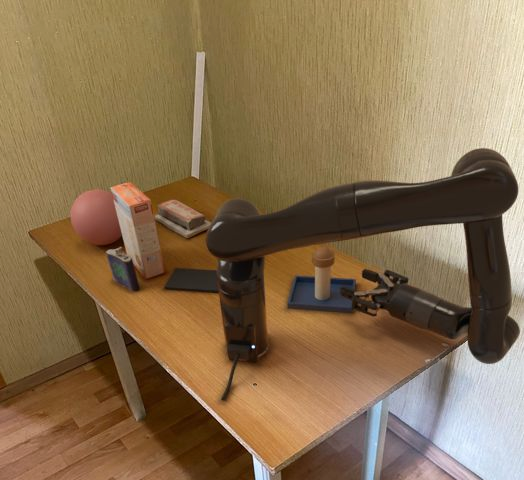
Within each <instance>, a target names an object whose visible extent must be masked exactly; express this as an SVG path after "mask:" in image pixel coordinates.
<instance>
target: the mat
mask: <svg viewBox="0 0 524 480" xmlns="http://www.w3.org/2000/svg"><path fill="white" fill-rule="evenodd" d="M164 290H168V291H183V292H197V293H212V294H219V290H218V283H217V269H216V270H215V269H199V268H184V267H183V268H182V267H175V268H174V270H173V271H172V273H171V275H170V277H169V278H168V280H167V282H166V283H165V285H164Z"/></svg>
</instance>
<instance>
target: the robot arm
mask: <svg viewBox="0 0 524 480" xmlns="http://www.w3.org/2000/svg"><path fill="white" fill-rule="evenodd" d="M513 171H514V170H513V169H512V167H511V165H510V164H509V162H508V160H507V159H506V158H505V157H504V156H503V155H502V154H501V153H500V152H498V151H496V150H494V149H493V148H486V147H479V148H474V149H472V150H469V151H468V152H466V153H465V154H463V155H462V156H460V158H459V159H458V160H457V161H456V163H455V164H454V166H453V168H452V171H451V175H449V176H446V177H442V178H438V179H433V180H427V181H423V182H422V181H421V182H402V181H401V182H400V181H392V180H391V181H390V180H375V179H368V180H367V179H366V180H357V181H353V182H347V183H344V184H338V185H334V186H329V187H326V188H324V189H321V190H319V191H317V192H314V193H312V194H310V195H307V196H306V197H304V198H302V199H301V200H298V201H297V202H295V203H293V204H291V205H289V206H286V207H285V208H282V209H280V210H277V211H274V212H269V213H264V214H261V212H260V211H259V209H258V208H257V206H256V205H254V203H252V202H251V201H249V200H247V199H245V198H241V197H240V198H239V197H238V198H237V197H235V198H230V199H227V200H226V201H223V202H222V203H221V204H220V206H218V208H217V209H216V212H215V213H214V216H213V217H212V219H211V221H210V223H211V224H210V226H209V228H208V229H207V230H206V235H205V236H206V237H205V244H206V248H207V250H208V252H209V253H210V254H211V256H213V257H214V258H216V259H217V267H216V270H217V283H218V290H219V293H218V296H219V305H220V311H221V312H220V313H221V320H222V321H221V322H222V327H223V335H224V342H225V352H226V354H227V358H228V360H229V361H232V362H233V364H232V366H231V369H230V373H229V376H228V377H229V378H228V382H227V384H226V388H225V390H224V392H223V394H222V396H221V398H220V400H221V401H223V402H225V400H226V398H227V396H228V394H229V392H230V389H231V386H232V384H233V379H234V375H235V371H236V368H237V365H238V362H243V363H253V364H254V363H255V364H257V363H258V361H259V360H260V359H261V358H263V357H265V355H267V353H268V351H269V349H270V343H269V334H268V320H267V305H266V289H265V286H266V285H265V265H266V257H267V256H269V255H273V254H277V253H281V252H284V251H288V250H294V249H300V248H306V247H313V246H317V245H324V244H328V243H336V242H345V241H350V240H351V241H352V240H357V239H361V238H366V237H372V236H377V235H382V234H389V233H393V232H399V231H405V230H411V229H417V228H424V227H431V226H442V225H443V226H445V225H457V224H459V225H460V224H463V225H462V226H463V231H464V239H465V249H466V250H465V251H466V265H467V266H466V267H467V280H468V293H469V302H470V306H463V305H461V304H460V305H459V304H457V303H455V302H452V301H449V300H447V299H444V298H442V297H440V296H438V295H437V294H435V293H433V292H429V291H427V290H424V289H422V288H419V287H416V286H414V285H411V284H409V278H408V277H407V276H404V275H402V274H400V273H397V272H395V271H393V270H389V269H386V270H384V272H376V271H373V270H371V269H367V268H364V269H362V271H361V277H362V279H364V280H367V281H369V282H372V283H375V284H377V286H376V287H373V289H366V290H365V291H357V290H356V289H355V290H353V289H351V288H348V287H346V286H342V287H341V288H340V294H341V296H343V297H345V298H347V299H350V300H352V306H351V308H352V309H353V311H357V312H360V313H362V314H365V315H368V316H370V317H373V318H375V317H377V315H378V312H379V311H380V310H384V311H387V313H388V314H389V315H390V316H391V317H392V318H395V319H397V320H399V321H401V322H404V323H407V324H408V325H411V326H414V327H416V328H419V329H422V330H425V331H428V332H431V333H433V334H436V335H438V336H441V337H443V338H445V339H448V340H457V339H459V338H460V337H463V336H464V335H467V347H468V349H469V350H468V351H469V352H470V354H471V355H472V357H473V358H474V359H475V360H476V361H478V362H480V363H482V364H485V365H493V364H494V365H495V364H497V363H499V362H500V361H502V360H503V359H504V358H505V357H506V356H507V354H508V352H509V351H510V350H511V349H512V347H513V346H514V345H515V343H516V342H517V340H518V339H519V337H520V333H521V327H520V325H519V323H518V322H517V321H516V320H515V319H514V318H513V317H512V316H510V315H509V314H510V312H511V310H512V305H513V293H512V278H511V277H512V275H511V270H510V263H509V257H508V251H507V246H506V240H505V234H504V233H505V232H504V222H503V215H504V214H505V213H506V212H508V211H509V210H510V209H511V208H512V207H513V206H514V204H515V203H516V201H517V199H518V196H519V183H518V180H517V178H516V174H515V173H514V172H513ZM370 298H371V300H370Z"/></svg>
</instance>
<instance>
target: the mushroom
mask: <svg viewBox="0 0 524 480" xmlns="http://www.w3.org/2000/svg"><path fill="white" fill-rule="evenodd" d="M335 258H336V254H335V252H334V251H333V250H332V249H330V248H329V247H327V246H320V247H318V248H316V249H315V250H313V251H312V252H311V264H312V265H313V266H314V277H315V297H316V298H317V299H318V300H326V299H328V298H329V297H330V278H331V271H332V266H334V265H335Z"/></svg>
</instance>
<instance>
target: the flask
mask: <svg viewBox="0 0 524 480" xmlns="http://www.w3.org/2000/svg"><path fill="white" fill-rule="evenodd" d="M122 249H123V247H122V246H118V247H117V248H115V249H114V248H112V249H108V250H106V251H105V255H106V258H107V262H108V264H109V268H110V272H111V275H112V279H113V281H114V283H115V284H117V285H120V286H121V287H123V288H126V289H128V290H129V291H131V292H139V291H140V290H141V286H140V283H139V279H138V276H137V272H136V269H135V268H136V267H135V266H134V264H133V260H132V258H131V257H129V256H128V255H127V253H126V252H124V251H122Z"/></svg>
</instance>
